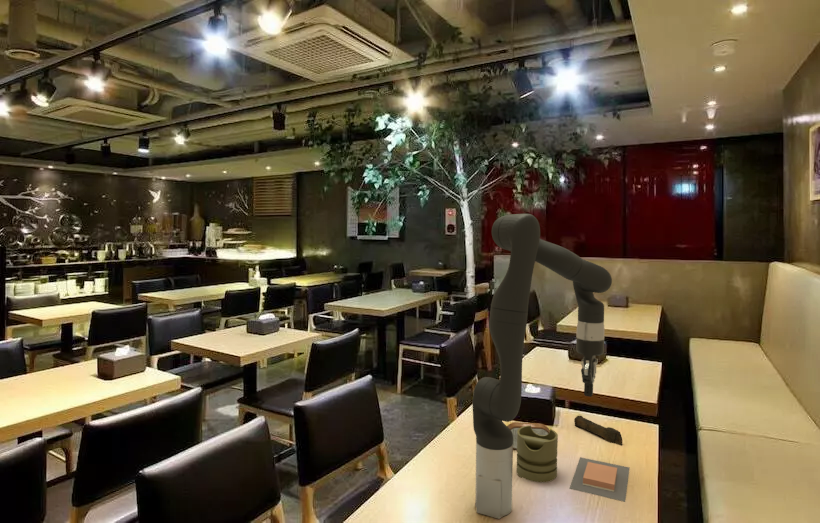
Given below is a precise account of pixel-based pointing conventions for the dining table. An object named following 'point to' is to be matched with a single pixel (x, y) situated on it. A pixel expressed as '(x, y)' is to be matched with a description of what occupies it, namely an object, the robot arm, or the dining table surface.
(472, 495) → the dining table surface
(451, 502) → the dining table surface
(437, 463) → the dining table surface
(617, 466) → the mat
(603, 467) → the tile
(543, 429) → the tin
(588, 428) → the hand tool
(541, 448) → the piston
